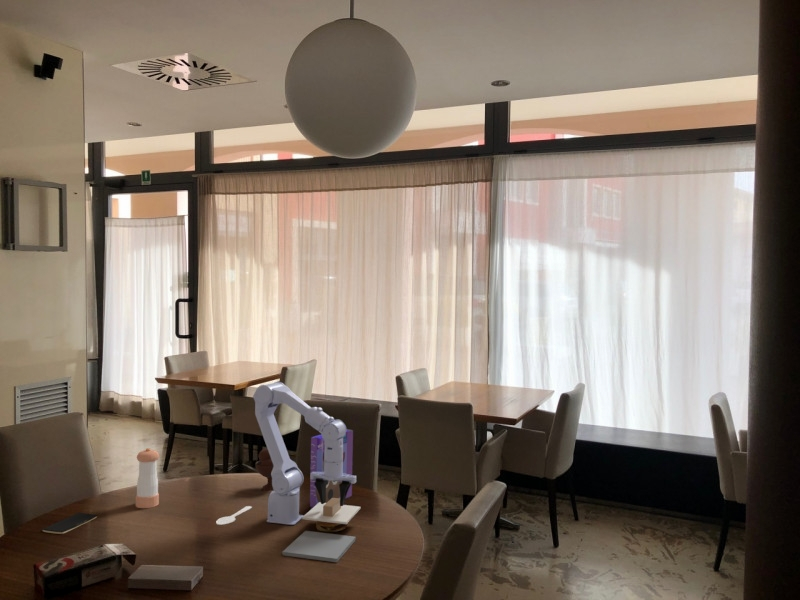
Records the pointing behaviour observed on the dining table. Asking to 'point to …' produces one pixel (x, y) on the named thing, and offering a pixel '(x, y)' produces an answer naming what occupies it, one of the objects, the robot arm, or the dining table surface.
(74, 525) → the smartphone
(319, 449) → the cereal box
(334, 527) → the burger
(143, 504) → the pepper shaker
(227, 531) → the dining table surface
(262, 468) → the ice cream bowl
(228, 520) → the spoon
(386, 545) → the dining table surface
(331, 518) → the lid
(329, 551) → the mat
